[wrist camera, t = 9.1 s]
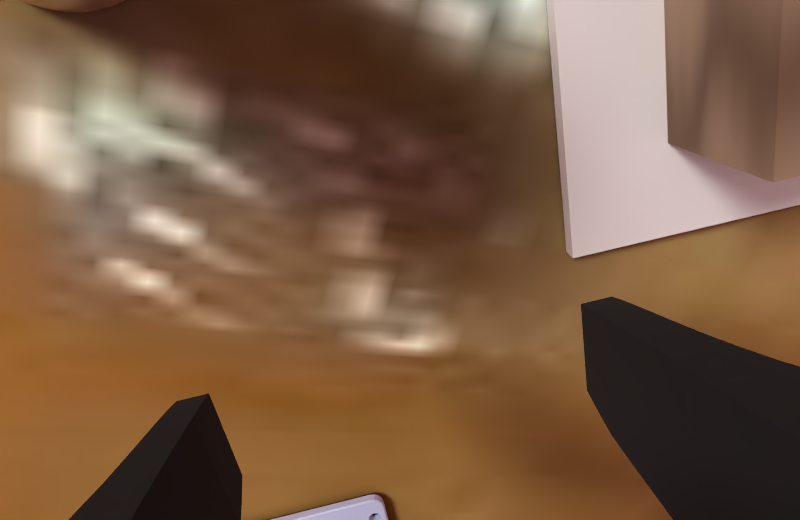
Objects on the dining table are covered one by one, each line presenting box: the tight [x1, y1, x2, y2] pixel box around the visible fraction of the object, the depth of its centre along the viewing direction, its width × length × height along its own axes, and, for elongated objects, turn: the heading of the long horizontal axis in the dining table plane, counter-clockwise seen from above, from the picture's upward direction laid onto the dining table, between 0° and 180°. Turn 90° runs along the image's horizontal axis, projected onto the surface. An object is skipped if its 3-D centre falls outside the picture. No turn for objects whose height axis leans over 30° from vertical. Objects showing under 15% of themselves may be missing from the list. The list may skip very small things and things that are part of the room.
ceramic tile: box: [546, 0, 800, 258], centre depth 19 cm, size 12×12×1 cm
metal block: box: [664, 0, 800, 183], centre depth 17 cm, size 5×5×5 cm
